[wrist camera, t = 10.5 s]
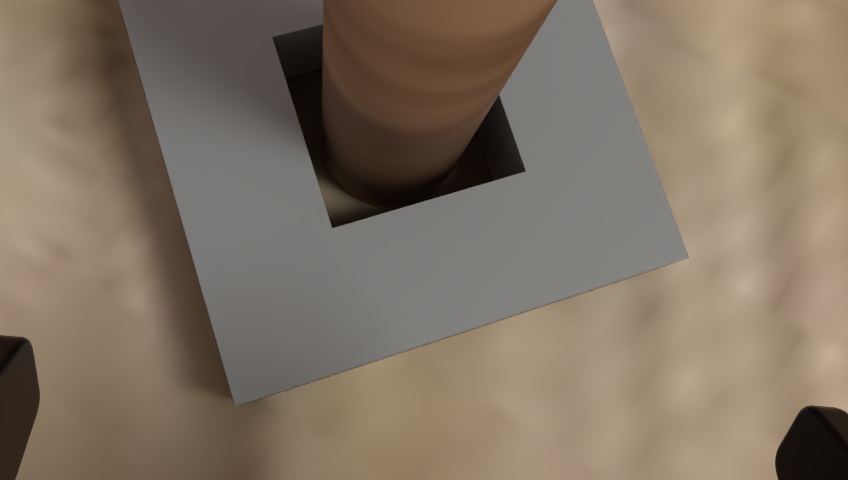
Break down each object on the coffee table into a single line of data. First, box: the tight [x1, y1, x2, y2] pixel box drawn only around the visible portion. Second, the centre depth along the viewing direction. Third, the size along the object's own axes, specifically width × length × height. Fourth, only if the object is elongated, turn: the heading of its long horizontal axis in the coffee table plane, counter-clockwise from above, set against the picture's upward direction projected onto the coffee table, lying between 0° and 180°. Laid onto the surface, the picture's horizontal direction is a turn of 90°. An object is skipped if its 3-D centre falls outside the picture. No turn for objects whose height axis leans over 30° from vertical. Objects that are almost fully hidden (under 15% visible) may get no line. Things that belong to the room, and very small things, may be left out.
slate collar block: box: [118, 0, 689, 406], centre depth 22 cm, size 12×12×3 cm
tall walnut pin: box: [322, 0, 557, 207], centre depth 17 cm, size 4×4×14 cm
